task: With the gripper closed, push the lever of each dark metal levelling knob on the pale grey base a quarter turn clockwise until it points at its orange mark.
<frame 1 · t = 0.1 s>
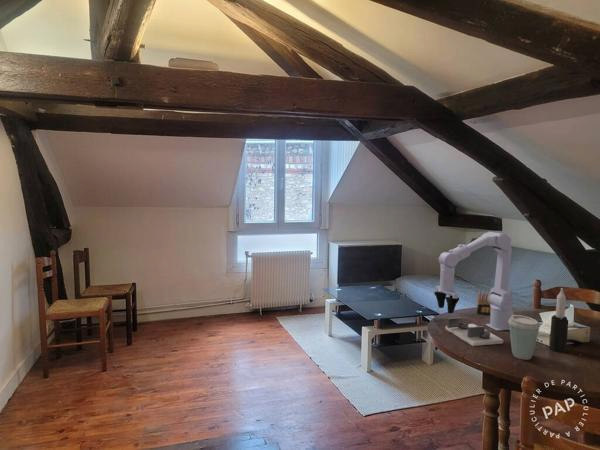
hand: (445, 310, 182), 10 cm above the table, tool pointing down, fingers open, 7 cm apart
ammunition clip: (488, 314, 209), on the table
disposable coffee cup: (521, 357, 158), on the table
knob 1: (457, 322, 184), point 4 cm above the table, hinge at 0.0°
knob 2: (478, 331, 173), point 4 cm above the table, hinge at 0.0°
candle: (557, 350, 165), on the table
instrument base: (473, 335, 179), on the table
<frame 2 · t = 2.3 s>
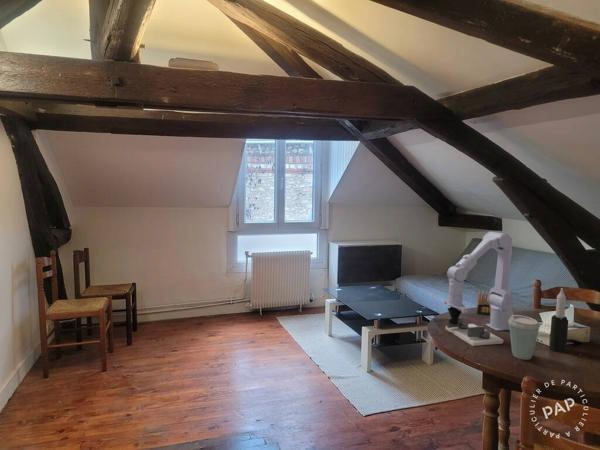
hand: (454, 324, 182), 4 cm above the table, tool pointing down, fingers closed, pressing on knob 1
knob 1: (457, 322, 184), point 4 cm above the table, hinge at -0.6°, touching gripper
everything else where it was.
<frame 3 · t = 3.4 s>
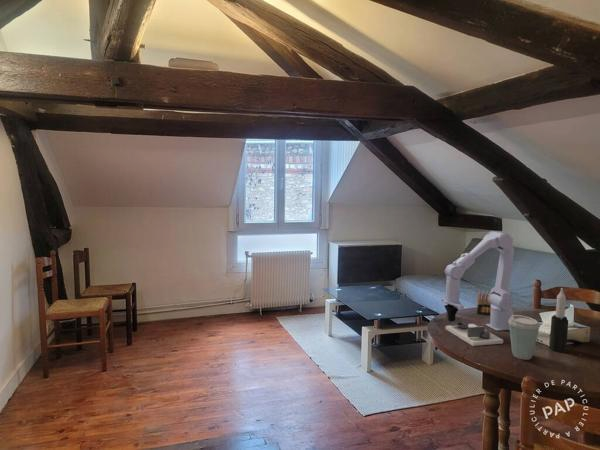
hand: (451, 321, 186), 4 cm above the table, tool pointing down, fingers closed, pressing on knob 1
knob 1: (457, 321, 186), point 4 cm above the table, hinge at -52.5°, touching gripper
everything else where it was.
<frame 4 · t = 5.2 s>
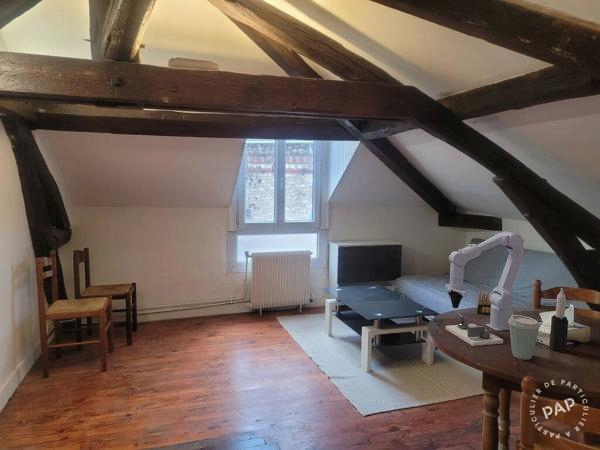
hand: (455, 307, 188), 9 cm above the table, tool pointing down, fingers closed
knob 1: (461, 320, 187), point 4 cm above the table, hinge at -104.2°
everything else where it was.
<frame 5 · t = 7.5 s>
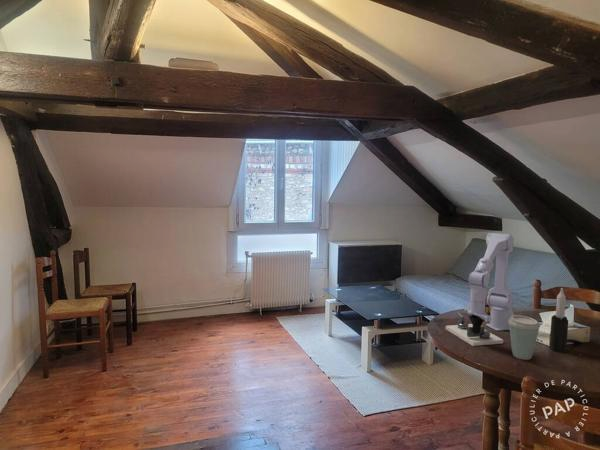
hand: (476, 333, 171), 4 cm above the table, tool pointing down, fingers closed, pressing on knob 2
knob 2: (478, 331, 173), point 4 cm above the table, hinge at -3.2°, touching gripper
everything else where it was.
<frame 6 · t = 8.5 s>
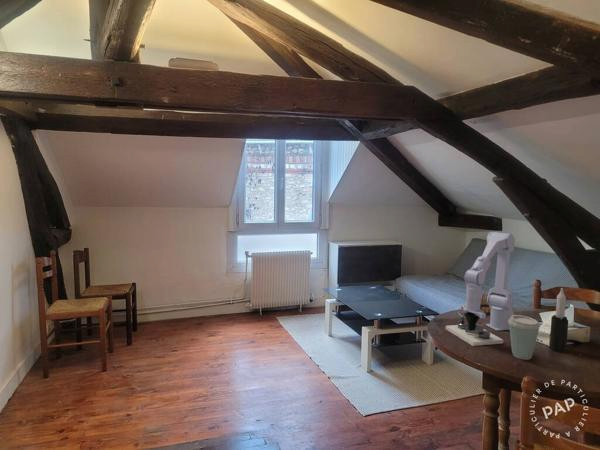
hand: (471, 330, 174), 4 cm above the table, tool pointing down, fingers closed, pressing on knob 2
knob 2: (477, 330, 175), point 4 cm above the table, hinge at -50.1°, touching gripper
everything else where it was.
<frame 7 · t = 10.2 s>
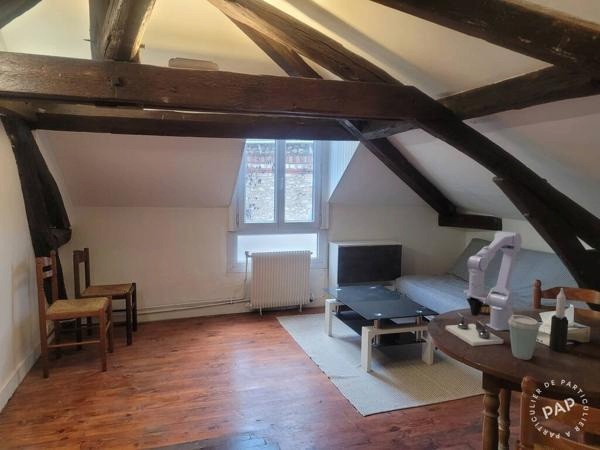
hand: (474, 315, 177), 9 cm above the table, tool pointing down, fingers closed
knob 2: (481, 329, 176), point 4 cm above the table, hinge at -103.8°
everything else where it was.
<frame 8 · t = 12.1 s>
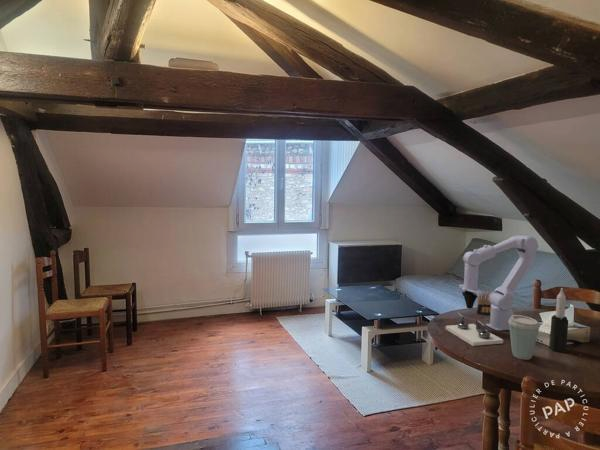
hand: (469, 308, 188), 9 cm above the table, tool pointing down, fingers closed
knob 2: (481, 329, 176), point 4 cm above the table, hinge at -104.3°
everything else where it was.
at the end: knob 1 at -104° (first picture: +0°); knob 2 at -104° (first picture: +0°) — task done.
